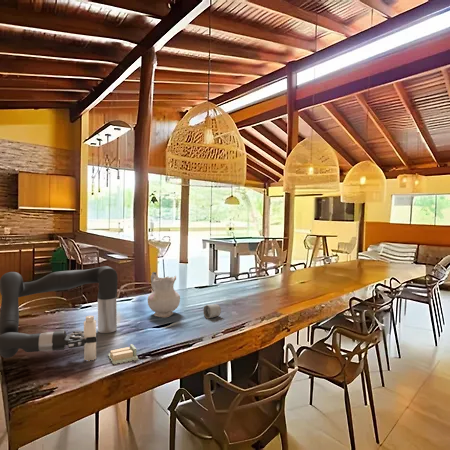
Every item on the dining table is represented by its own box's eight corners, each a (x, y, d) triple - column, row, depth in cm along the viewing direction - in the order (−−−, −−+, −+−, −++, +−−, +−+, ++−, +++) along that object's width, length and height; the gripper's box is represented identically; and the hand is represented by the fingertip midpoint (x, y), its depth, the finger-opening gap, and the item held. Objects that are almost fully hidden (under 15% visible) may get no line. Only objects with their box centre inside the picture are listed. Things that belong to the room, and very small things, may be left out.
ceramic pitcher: (138, 317, 209) (135, 276, 206) (158, 306, 226) (156, 268, 223) (167, 322, 199) (165, 280, 196) (186, 311, 216) (185, 271, 213)
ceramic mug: (221, 317, 206) (221, 304, 206) (210, 319, 201) (210, 306, 201) (210, 313, 214) (210, 300, 214) (199, 315, 209) (199, 303, 209)
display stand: (108, 356, 151) (107, 346, 151) (131, 351, 156) (131, 342, 156) (113, 364, 142) (113, 355, 142) (137, 359, 147) (137, 350, 147)
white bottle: (83, 357, 149) (82, 316, 148) (95, 355, 151) (94, 314, 151) (85, 362, 145) (84, 319, 144) (97, 359, 147) (96, 317, 146)
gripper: (56, 343, 151) (98, 339, 155) (49, 357, 137) (95, 352, 142) (55, 326, 151) (98, 323, 155) (48, 338, 137) (95, 334, 141)
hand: (96, 337), depth 148 cm, fingers closed on white bottle, 4 cm apart
